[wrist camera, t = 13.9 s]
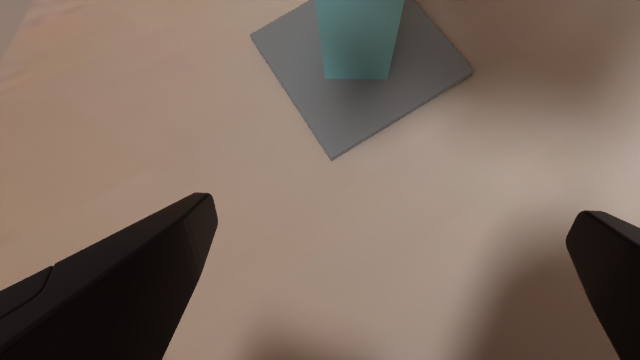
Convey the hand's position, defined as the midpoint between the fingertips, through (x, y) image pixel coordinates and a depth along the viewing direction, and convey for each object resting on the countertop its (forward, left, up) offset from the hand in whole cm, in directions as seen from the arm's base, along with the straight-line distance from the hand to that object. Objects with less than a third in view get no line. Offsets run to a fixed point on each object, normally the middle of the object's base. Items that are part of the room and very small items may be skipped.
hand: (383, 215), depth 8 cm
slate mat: (+12, -7, -14) cm, 19 cm away
